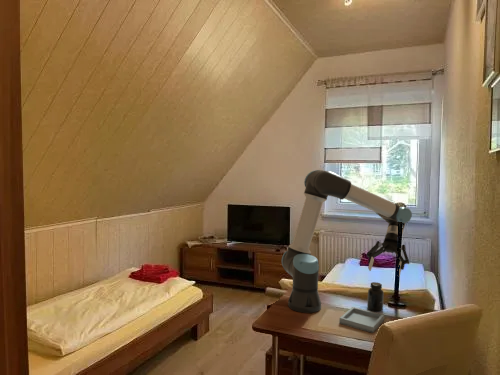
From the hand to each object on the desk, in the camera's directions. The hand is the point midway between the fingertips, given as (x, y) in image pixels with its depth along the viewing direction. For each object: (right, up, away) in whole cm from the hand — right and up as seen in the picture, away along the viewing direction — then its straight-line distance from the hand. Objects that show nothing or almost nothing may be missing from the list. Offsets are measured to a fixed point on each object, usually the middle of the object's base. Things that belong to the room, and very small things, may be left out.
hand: (383, 272), depth 178 cm
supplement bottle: (-7, -16, -8) cm, 19 cm away
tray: (-17, -16, -22) cm, 32 cm away
